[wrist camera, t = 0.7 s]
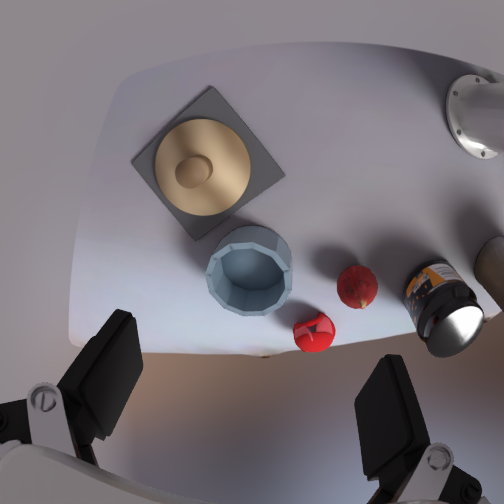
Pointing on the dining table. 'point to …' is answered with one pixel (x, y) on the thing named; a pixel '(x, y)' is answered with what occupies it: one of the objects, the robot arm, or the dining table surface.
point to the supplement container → (442, 308)
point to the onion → (357, 286)
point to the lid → (202, 167)
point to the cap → (314, 334)
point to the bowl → (250, 271)
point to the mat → (261, 161)
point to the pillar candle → (492, 269)
